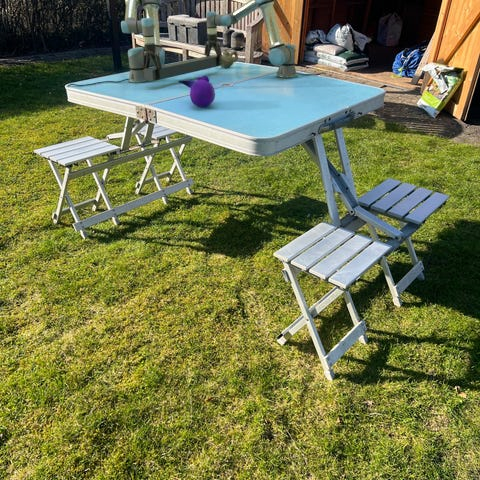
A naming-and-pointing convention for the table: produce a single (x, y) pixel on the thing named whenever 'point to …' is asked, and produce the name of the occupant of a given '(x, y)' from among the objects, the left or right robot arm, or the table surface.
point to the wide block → (182, 67)
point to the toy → (201, 91)
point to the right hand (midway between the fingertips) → (213, 65)
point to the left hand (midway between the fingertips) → (153, 78)
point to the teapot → (228, 58)
